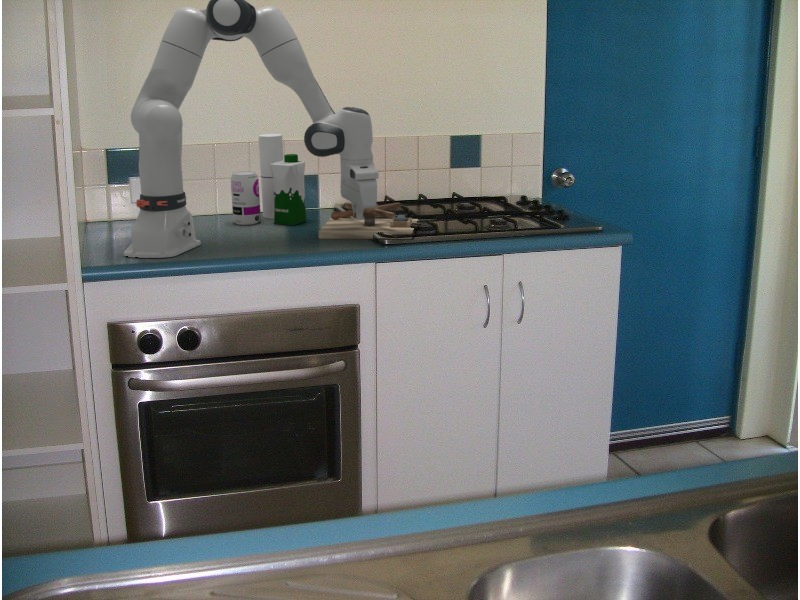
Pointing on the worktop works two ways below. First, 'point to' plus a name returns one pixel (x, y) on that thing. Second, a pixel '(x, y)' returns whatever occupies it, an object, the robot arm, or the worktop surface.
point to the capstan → (369, 211)
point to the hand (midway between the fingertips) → (358, 219)
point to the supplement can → (245, 198)
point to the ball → (401, 218)
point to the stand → (364, 228)
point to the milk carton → (289, 190)
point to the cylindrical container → (269, 169)
